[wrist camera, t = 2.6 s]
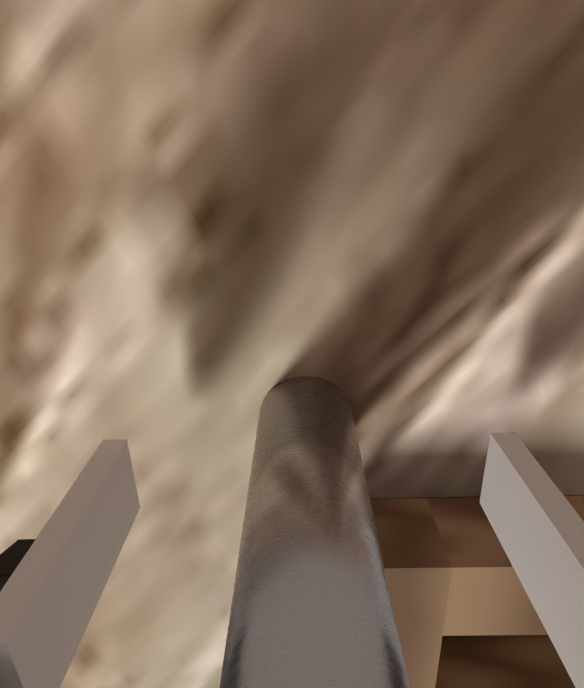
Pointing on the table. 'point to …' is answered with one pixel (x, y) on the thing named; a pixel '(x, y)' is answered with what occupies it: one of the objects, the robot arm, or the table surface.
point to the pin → (310, 555)
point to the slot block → (461, 598)
